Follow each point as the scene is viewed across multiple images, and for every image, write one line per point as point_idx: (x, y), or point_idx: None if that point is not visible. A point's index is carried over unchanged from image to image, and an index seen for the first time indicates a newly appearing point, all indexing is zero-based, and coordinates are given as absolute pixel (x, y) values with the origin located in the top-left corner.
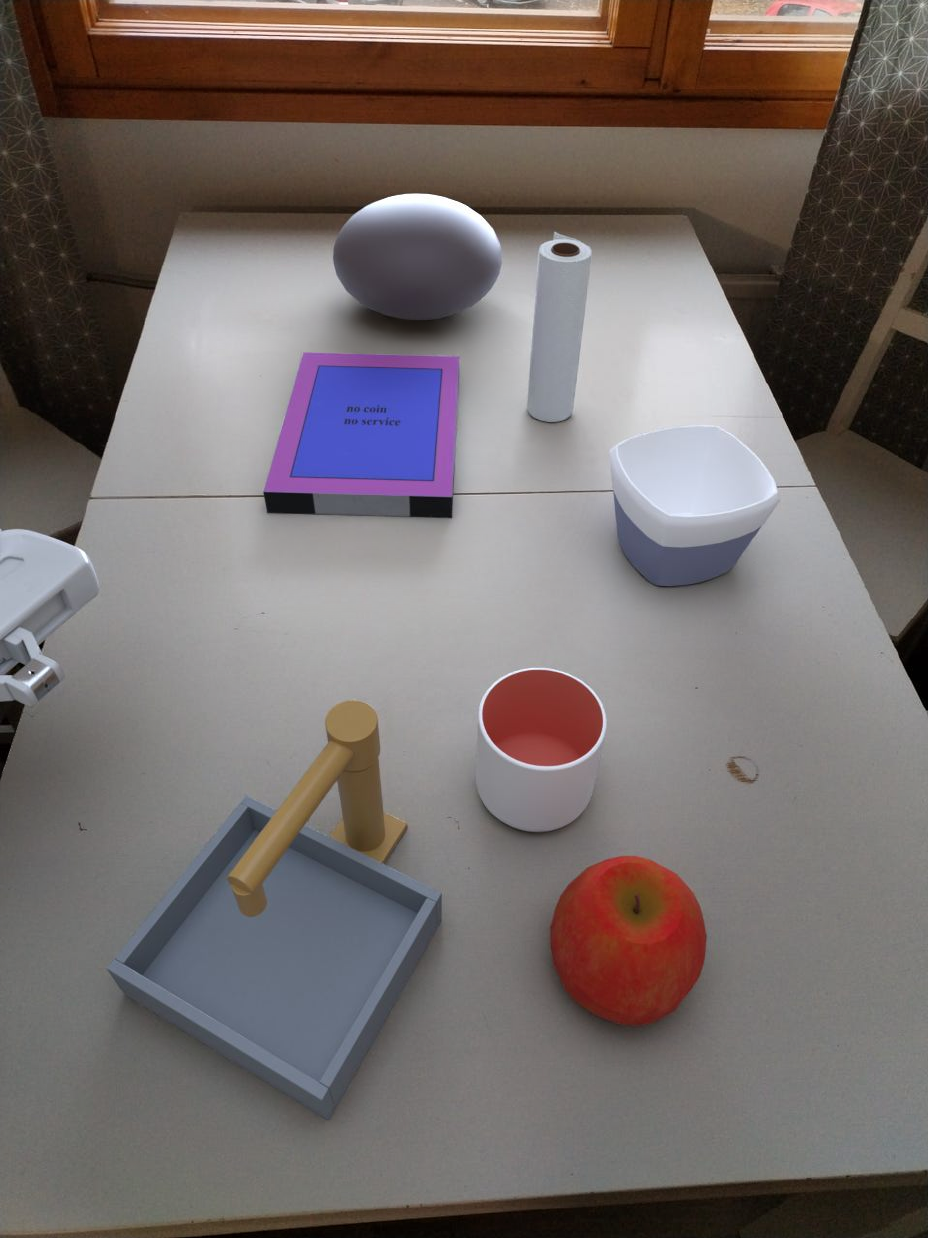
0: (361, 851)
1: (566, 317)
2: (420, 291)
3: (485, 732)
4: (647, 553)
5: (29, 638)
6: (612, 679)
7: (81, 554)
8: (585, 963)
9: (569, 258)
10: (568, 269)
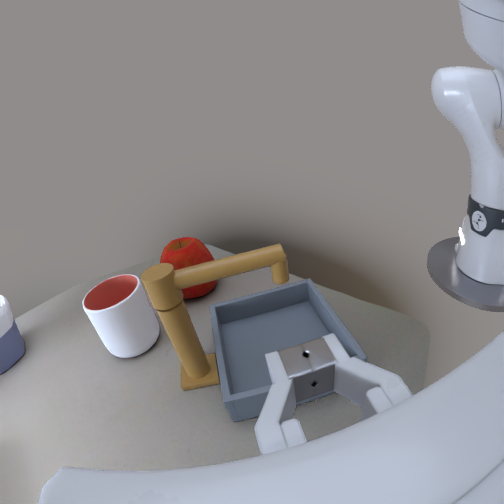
0: (209, 364)
1: None
2: None
3: (126, 298)
4: (12, 341)
5: (267, 416)
6: (71, 345)
7: (50, 479)
8: (207, 255)
9: None
10: None
